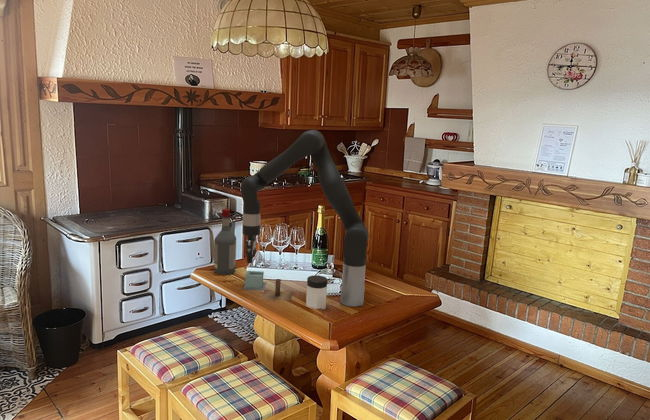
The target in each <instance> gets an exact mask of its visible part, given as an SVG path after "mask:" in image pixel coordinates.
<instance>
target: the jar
mask: <svg viewBox="0 0 650 420" xmlns="http://www.w3.org/2000/svg"><path fill="white" fill-rule="evenodd" d="M306 281H307V282H306V298H305V305H306V307H308V308H311V309H315V310H319V309H321V310H326V308H327V293H328V278H327V277H325V276H323V275H318V274H317V275H316V274H315V275H314V274H313V275H309V276H308V277H307V278H306Z"/></svg>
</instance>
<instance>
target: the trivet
mask: <svg viewBox="0 0 650 420" xmlns="http://www.w3.org/2000/svg"><path fill="white" fill-rule="evenodd" d="M243 286H244V287H243V290H250V291H266V286H267V281H263V284H262V288H245V285H243Z"/></svg>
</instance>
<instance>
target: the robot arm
mask: <svg viewBox="0 0 650 420" xmlns="http://www.w3.org/2000/svg"><path fill="white" fill-rule="evenodd" d="M327 145H328V144H327V142H326V139H325V137H324V135H323V134H322V132H320V131H318V130H316V129H310V130H307V131H304V132H303V133H302V134H301V135H300V136H299V137H298V138H297V139H296V140H295V141H294V142H293V143H292V144H291V145H290V146H289V147H288V148H287V149H285V151H283V152H281V153H280V154H278V156H276V157H274V158H273V159H272V160H269V162H267V163H266V164H264V165H263V166H262V167H261V168H260V169H259V171H257V172H256V173H254V174H253V175H251V176H248V177H246V178H244V179H243V180H242V182H241V184H240V192H241V193H240V194H241V197H242V199H241V200H242V202H243V207H242V210H243V212H242V213H243V214H242V234H243V235H244V236H247V238H246V239H245V254H246V263H247V264H252V263H253V258H255V256H256V247H257V236H260V235H261V222H262V221H261V219H262V217H261V201H260V199H258V193H259V192H260V191H262V189H264V188H265V187H267V185H269V184H270V183H271V182H274V180H276V179H277V178H279V177H280V176H282V175H283V174H284V173H285V172H286V171H287V170H288V169H290V168H291V167H292V166H293V165H295V164H296V163H297V162H299V161H300V160H302V159H303V158H307V157H308V156H310V157H311V160H312V161H313V163H314V165H315V167H316V171H317V175H318V181H319V185H320V187H321V190H322V191H323V195H324V197H325V198H326V201H327V202H328V203H329V205H330V206H331V207H332V209H333V210H334V211H335V212H336V213H337V215H338V216H339V219H340V220H341V222H342V225H343V227H344V229H345V234H344V238H343V251H342V253H343V254H342V255H343V257H342V258H343V264H342V276H341V277H342V278H341V292H340V303H341V305H344V306H346V307H351V308H352V307H355V308H357V307H360V306H361V307H362V306H364V298H365V290H366V289H365V286H366V283H365V277H366V267H367V266H366V265H367V249H368V240H369V235H370V233H369V230H368V228H367V226H366V225H365V222H364V221H363V220H362V218H361V216H360V215H359V213H358V212H357V209H356V207H355V205H354V202H353V199H352V197H351V194H350V193H349V190H348V187H347V186H346V183H345V181H344V179H343V177H342V174H341V173H340V172H339V170H338V168H337V166H336V163H335V162H334V160H333V158H332V156H331V154H330V151H329V148H328V146H327Z"/></svg>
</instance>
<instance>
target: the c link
mask: <svg viewBox="0 0 650 420" xmlns="http://www.w3.org/2000/svg"><path fill="white" fill-rule="evenodd" d="M264 274H265V273H264V271H260V270H257V271H256V270H247V271H246V272H245V275H244V286H245V288H262V284H263V282H264Z"/></svg>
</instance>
